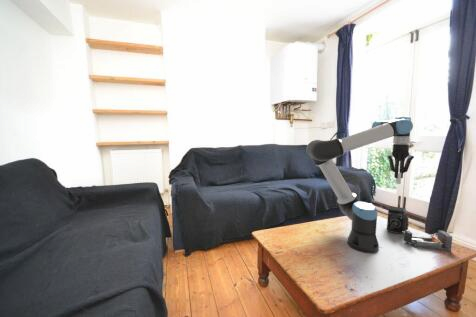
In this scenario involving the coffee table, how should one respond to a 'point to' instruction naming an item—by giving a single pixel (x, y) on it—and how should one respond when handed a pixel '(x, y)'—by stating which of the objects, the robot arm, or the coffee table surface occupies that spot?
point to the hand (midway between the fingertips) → (398, 183)
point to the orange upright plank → (435, 239)
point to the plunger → (410, 237)
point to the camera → (397, 220)
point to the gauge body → (427, 243)
